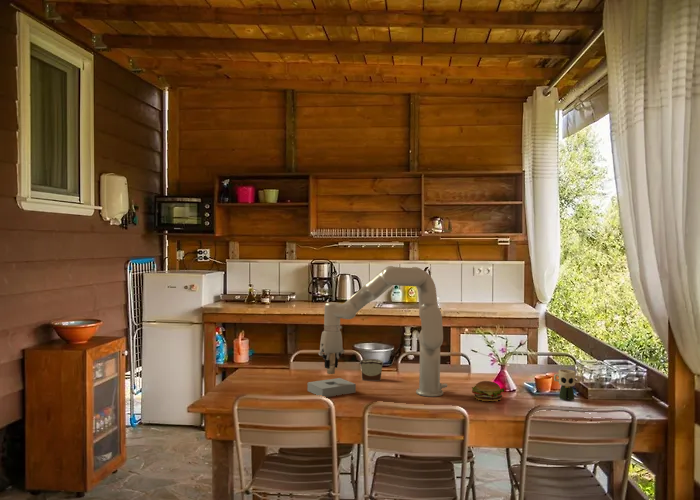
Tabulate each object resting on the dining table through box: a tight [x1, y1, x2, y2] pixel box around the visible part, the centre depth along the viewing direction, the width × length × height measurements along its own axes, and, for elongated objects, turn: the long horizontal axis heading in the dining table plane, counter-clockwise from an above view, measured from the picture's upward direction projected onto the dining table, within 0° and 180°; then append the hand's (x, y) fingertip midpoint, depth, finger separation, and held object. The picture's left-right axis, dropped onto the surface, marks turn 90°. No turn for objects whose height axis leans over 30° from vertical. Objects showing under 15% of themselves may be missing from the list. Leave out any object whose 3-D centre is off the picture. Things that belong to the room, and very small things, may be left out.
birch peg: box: [326, 353, 336, 375], centre depth 258 cm, size 4×4×10 cm
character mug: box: [553, 368, 581, 401], centre depth 249 cm, size 11×7×13 cm, turn 72°
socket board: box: [307, 377, 357, 398], centre depth 258 cm, size 18×14×4 cm
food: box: [471, 380, 505, 402], centre depth 248 cm, size 14×14×8 cm
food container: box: [359, 358, 384, 382], centre depth 284 cm, size 12×6×10 cm, turn 84°
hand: (331, 367), depth 258 cm, fingers closed on birch peg, 3 cm apart
